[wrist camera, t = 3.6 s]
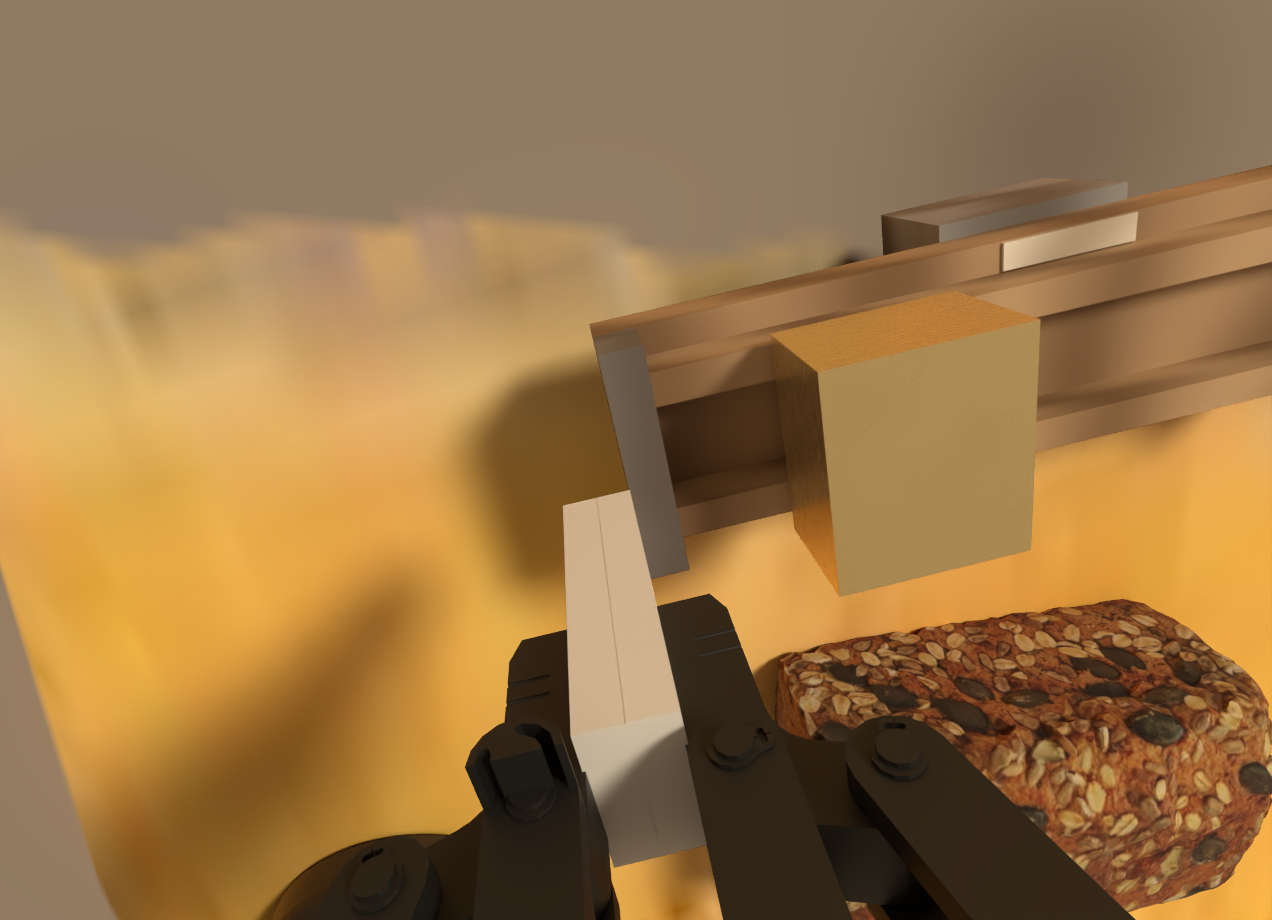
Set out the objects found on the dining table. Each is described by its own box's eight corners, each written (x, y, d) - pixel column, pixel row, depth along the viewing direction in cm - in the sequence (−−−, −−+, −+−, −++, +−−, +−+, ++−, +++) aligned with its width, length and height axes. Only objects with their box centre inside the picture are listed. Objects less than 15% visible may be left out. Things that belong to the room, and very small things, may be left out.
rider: (776, 501, 22) (839, 596, 17) (751, 318, 20) (817, 372, 15) (926, 464, 22) (1030, 550, 18) (920, 279, 20) (1040, 319, 15)
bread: (765, 798, 36) (839, 1013, 27) (767, 632, 32) (855, 822, 23) (1101, 746, 38) (1276, 934, 29) (1147, 581, 33) (1371, 741, 24)
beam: (626, 483, 28) (653, 592, 21) (579, 285, 25) (593, 336, 18) (1292, 324, 29) (1531, 378, 22) (1334, 109, 25) (1633, 93, 18)
